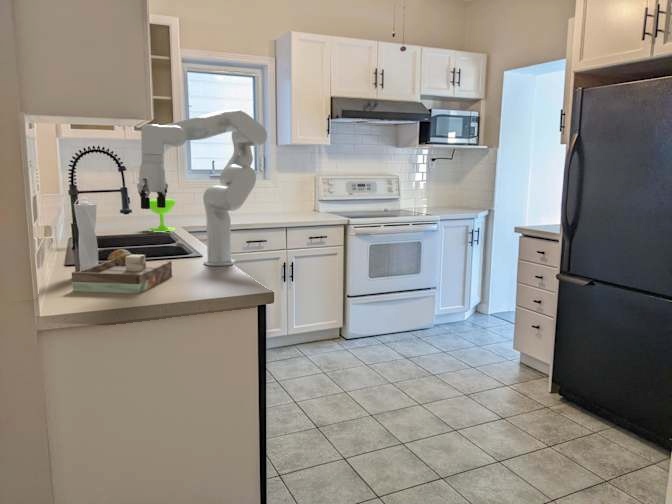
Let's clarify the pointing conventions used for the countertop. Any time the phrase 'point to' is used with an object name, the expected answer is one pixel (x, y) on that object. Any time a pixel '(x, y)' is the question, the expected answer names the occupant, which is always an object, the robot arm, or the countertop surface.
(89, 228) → the skyscraper
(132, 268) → the birch block
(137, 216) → the countertop surface
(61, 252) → the countertop surface
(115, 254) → the bread roll
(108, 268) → the trap box
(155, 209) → the wineglass
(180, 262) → the countertop surface
